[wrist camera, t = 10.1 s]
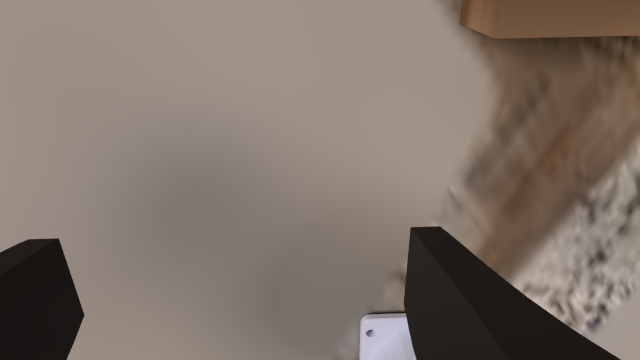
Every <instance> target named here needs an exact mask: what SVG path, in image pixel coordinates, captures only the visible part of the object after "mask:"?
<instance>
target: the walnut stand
mask: <svg viewBox="0 0 640 360" xmlns="http://www.w3.org/2000/svg"><path fill="white" fill-rule="evenodd" d="M460 24H461V25H463V26H466V27H468V28H471V29H473V30H475V31H478V32H480V33H482V34H485V35H487V36H489V37H492V38H494V39H502V38H549V37H595V36H640V0H463V2H462V10H461V19H460Z"/></svg>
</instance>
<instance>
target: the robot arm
mask: <svg viewBox="0 0 640 360" xmlns="http://www.w3.org/2000/svg"><path fill="white" fill-rule="evenodd" d="M404 307H405V312H406V313H397V314H370V315H366V316H364V317H363V318H362V319H361V328H360V357H359V360H620V359H619V358H617V357H616V356H614V355H612V354H611V353H609V352H608V351H606V350H604V349H603V348H601V347H600V346H598V345H596V344H595V343H593V342H591V341H590V340H588V339H587V338H585V337H583V336H582V335H580V334H579V333H577V332H576V331H574V330H573V329H571V328H570V327H568V326H567V325H565V324H564V323H563V322H561V321H560V320H558V319H557V318H556V317H554V316H553V315H551V314H550V313H549V312H547V311H546V310H544V309H543V308H542V307H540V306H539V305H537V304H536V303H535V302H533V301H532V300H530V299H529V298H528V297H527V296H525V295H524V294H523V293H521V292H520V291H519V290H517V289H516V288H515V287H513V286H512V285H511V284H510V283H508V282H507V281H506V280H504V279H503V278H502V277H501V276H499V275H498V274H497V273H496V272H494V271H493V270H492V269H491V268H490V267H488V266H487V265H486V264H485V263H483V262H482V261H481V260H480V259H479V258H478V257H476V256H475V255H474V254H473V253H472V252H470V251H469V250H468V249H467V248H466V247H464V246H463V245H462V244H461V243H460V242H459V241H457V240H456V239H455V238H454V237H453V236H451V235H450V234H449V233H448V232H446V231H445V230H444V229H443V228H441V227H440V226H439V227H411V230H410V242H409V252H408V263H407V274H406V285H405V296H404ZM83 317H84V313H83V310H82V307H81V304H80V301H79V298H78V295H77V292H76V289H75V286H74V283H73V280H72V277H71V274H70V271H69V268H68V265H67V262H66V259H65V256H64V253H63V250H62V247H61V244H60V241H59V239H30V240H26V241H24V242H22V243H19V244H17V245H15V246H13V247H11V248H9V249H7V250H4V251H3V252H1V253H0V360H67V357H68V355H69V353H70V350H71V348H72V345H73V343H74V341H75V338H76V336H77V333H78V330H79V328H80V325H81V323H82V320H83ZM368 330H373V331H370V332H369V331H368Z"/></svg>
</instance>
